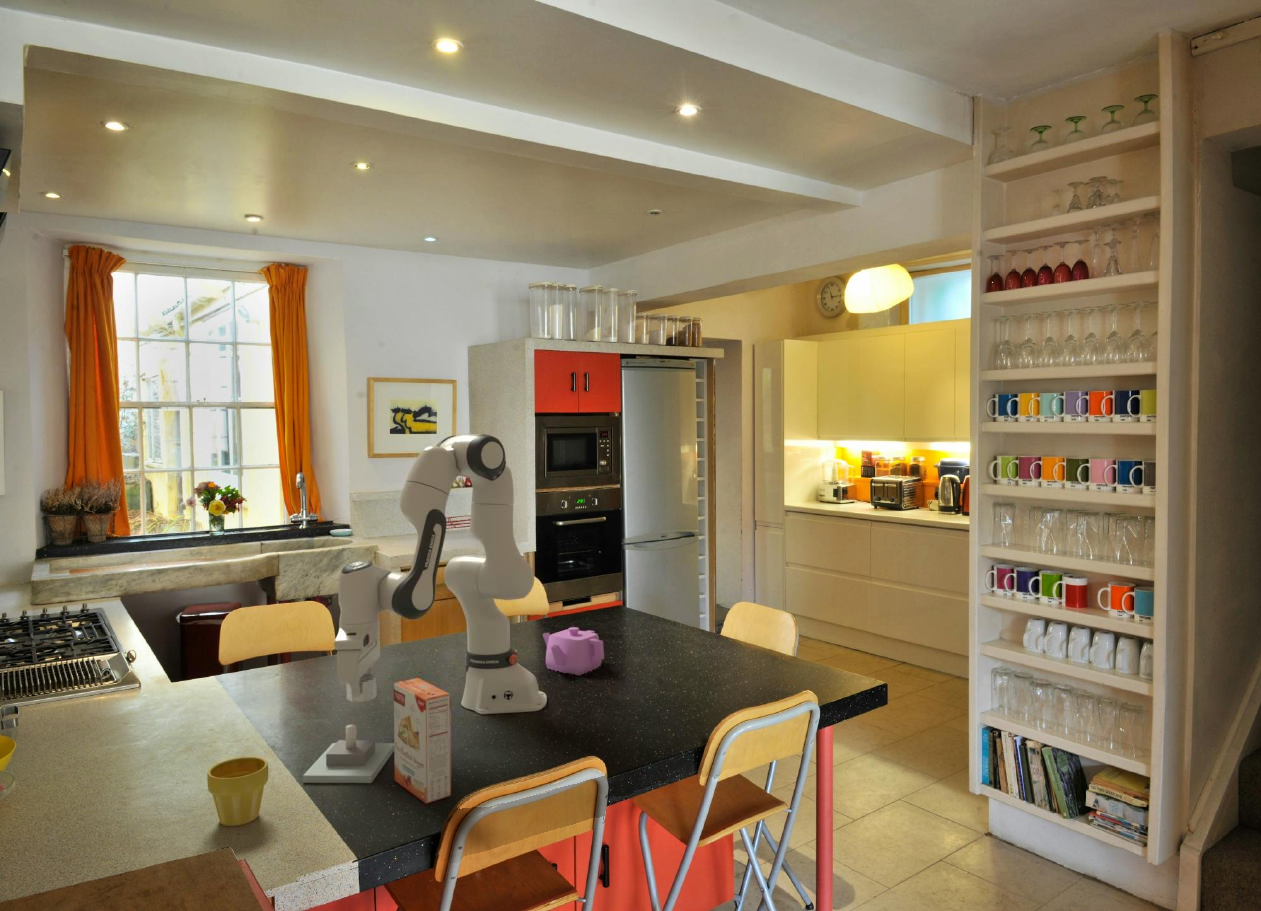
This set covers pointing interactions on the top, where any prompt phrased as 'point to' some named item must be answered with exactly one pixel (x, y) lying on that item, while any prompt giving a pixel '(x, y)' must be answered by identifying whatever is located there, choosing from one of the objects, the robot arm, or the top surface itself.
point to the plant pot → (238, 789)
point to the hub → (364, 689)
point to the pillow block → (350, 761)
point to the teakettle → (573, 651)
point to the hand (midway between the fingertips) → (361, 690)
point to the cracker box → (422, 739)
